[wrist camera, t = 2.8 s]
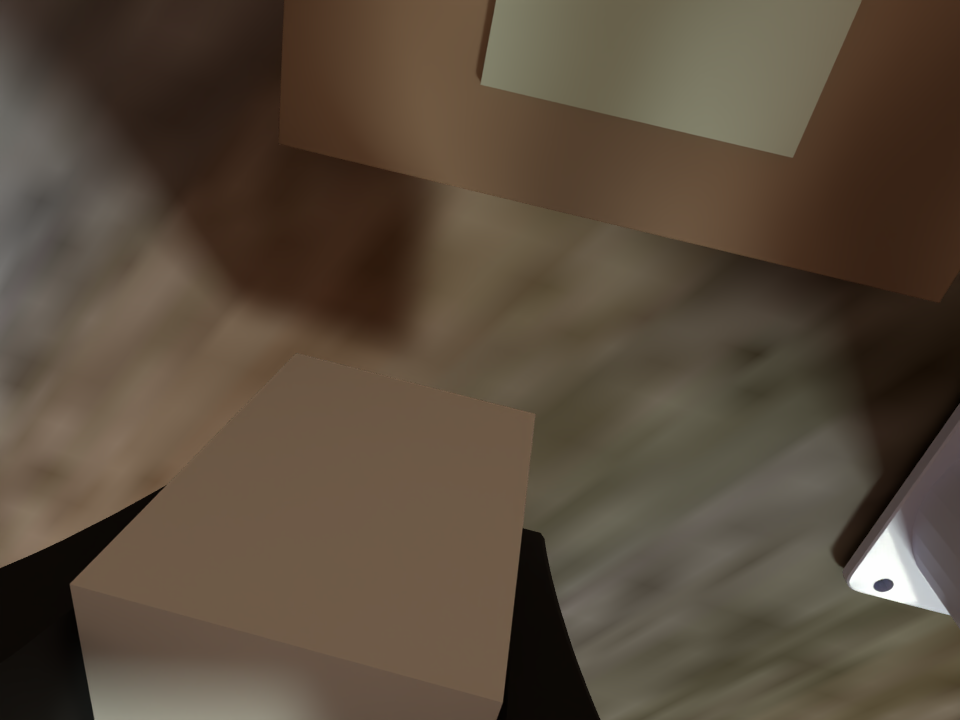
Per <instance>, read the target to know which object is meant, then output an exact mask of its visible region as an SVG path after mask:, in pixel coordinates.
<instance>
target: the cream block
mask: <svg viewBox="0 0 960 720" xmlns="http://www.w3.org/2000/svg"><path fill="white" fill-rule="evenodd" d="M534 422H535V414H533V413H530V412H526V411H522V410H518V409H514V408H510V407H506V406H502V405H498V404H494V403H490V402H486V401H483V400H479V399H475V398H471V397H467V396H463V395H459V394H455V393H451V392H447V391H443V390H439V389H436V388H432V387H428V386H424V385H420V384H416V383H412V382H408V381H404V380H400V379H396V378H392V377H388V376H385V375H381V374H377V373H373V372H369V371H365V370H361V369H357V368H353V367H349V366H345V365H341V364H338V363H334V362H330V361H326V360H322V359H318V358H314V357H310V356H306V355H302V354H298V353H296V354H295V355H294V356H293V357H292V358H291V359H290V360H289V361H288V362H287V363H286V364H285V365H284V366H283V367H282V368H281V369H280V370H279V371H278V372H277V373H276V374H275V375H274V376H273V377H272V378H271V379H270V380H269V381H268V382H267V383H266V384H265V385H264V386H263V387H262V388H261V389H260V391H259V392H258V393H257V394H256V395H255V396H254V397H253V398H252V399H251V400H250V401H249V402H248V403H247V404H246V405H245V406H244V407H243V408H242V409H241V410H240V411H239V412H238V413H237V414H236V415H235V416H234V417H233V418H232V419H231V420H230V421H229V422H228V423H227V424H226V425H225V426H224V427H223V428H222V429H221V430H220V431H219V432H218V433H217V434H216V435H215V436H214V437H213V438H212V439H211V440H210V441H209V443H208V444H207V445H206V446H205V447H204V448H203V449H202V450H201V451H200V452H199V453H198V454H197V455H196V456H195V457H194V458H193V459H192V460H191V461H190V462H189V463H188V464H187V465H186V466H185V467H184V468H183V469H182V470H181V471H180V472H179V473H178V474H177V475H176V476H175V477H174V478H173V479H172V480H171V481H170V482H169V483H168V484H167V485H166V486H165V487H164V488H163V489H162V490H161V491H160V492H159V494H158V495H157V496H156V497H155V498H154V499H153V500H152V501H151V502H150V503H149V504H148V505H147V506H146V507H145V508H144V509H143V510H142V511H141V512H140V513H139V514H138V515H137V516H136V517H135V518H134V519H133V520H132V521H131V522H130V523H129V524H128V525H127V526H126V527H125V528H124V529H123V530H122V531H121V532H120V533H119V534H118V535H117V536H116V537H115V538H114V539H113V540H112V541H111V542H110V543H109V545H108V546H107V547H106V548H105V549H104V550H103V551H102V552H101V553H100V554H99V555H98V556H97V557H96V558H95V559H94V560H93V561H92V562H91V563H90V564H89V565H88V566H87V567H86V568H85V569H84V570H83V571H82V572H81V573H80V574H79V575H78V576H77V577H76V578H75V579H74V580H73V581H72V582H71V583H70V589H71V594H72V600H73V605H74V611H75V616H76V622H77V627H78V633H79V638H80V643H81V649H82V654H83V660H84V665H85V671H86V676H87V682H88V687H89V692H90V698H91V703H92V709H93V714H94V720H497V717H498V714H499V712H500V709H501V706H502V703H503V696H504V688H505V679H506V670H507V661H508V652H509V643H510V635H511V626H512V617H513V608H514V599H515V590H516V581H517V573H518V564H519V555H520V546H521V537H522V528H523V520H524V511H525V502H526V493H527V484H528V475H529V466H530V458H531V449H532V440H533V431H534Z"/></svg>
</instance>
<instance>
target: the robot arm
mask: <svg viewBox="0 0 960 720" xmlns="http://www.w3.org/2000/svg"><path fill="white" fill-rule="evenodd" d="M164 487H165V486H164ZM164 487H162V488H161V489H159V490H157V491H155V492H153V493H152V494H150V495H148V496H146V497H144V498H143V499H141V500H139V501H137V502H135V503H134V504H132V505H130V506H128V507H126V508H125V509H123V510H121V511H119V512H117V513H115V514H114V515H112V516H110V517H108V518H106V519H104V520H102V521H100V522H98V523H96V524H94V525H92V526H90V527H88V528H86V529H84V530H82V531H80V532H78V533H76V534H74V535H72V536H70V537H68V538H66V539H65V540H63V541H60V542H58V543H56V544H54V545H52V546H50V547H48V548H45V549H43V550H41V551H39V552H37V553H34V554H32V555H30V556H28V557H25V558H23V559H21V560H18V561H16V562H14V563H11V564H9V565H7V566H4V567H2V568H0V720H94V714H93V709H92V703H91V698H90V692H89V687H88V682H87V676H86V671H85V665H84V660H83V654H82V649H81V643H80V638H79V633H78V627H77V622H76V616H75V611H74V605H73V600H72V594H71V589H70V583H71V582H72V581H73V580H74V579H75V578H76V577H77V576H78V575H79V574H80V573H81V572H82V571H83V570H84V569H85V568H86V567H87V566H88V565H89V564H90V563H91V562H92V561H93V560H94V559H95V558H96V557H97V556H98V555H99V554H100V553H101V552H102V551H103V550H104V549H105V548H106V547H107V546H108V545H109V543H110V542H111V541H112V540H113V539H114V538H115V537H116V536H117V535H118V534H119V533H120V532H121V531H122V530H123V529H124V528H125V527H126V526H127V525H128V524H129V523H130V522H131V521H132V520H133V519H134V518H135V517H136V516H137V515H138V514H139V513H140V512H141V511H142V510H143V509H144V508H145V507H146V506H147V505H148V504H149V503H150V502H151V501H152V500H153V499H154V498H155V497H156V496H157V495H158V494H159V492H160V491H161V490H162V489H163V488H164ZM843 577H844V579H845V581H846V583H847V585H848V586H849V587H850V588H851V589H853V590H855V591H858V592H862V593H865V594H869V595H873V596H877V597H881V598H885V599H889V600H893V601H896V602H900V603H904V604H908V605H912V606H916V607H920V608H924V609H928V610H931V611H935V612H939V613H943V614H947V615H951V617H952V618H953V620H954V621H955V623H956V624H957V626H958V627H959V628H960V404H959V405H958V406H957V408H956V409H955V411H954V412H953V414H952V415H951V416H950V418H949V419H948V421H947V422H946V424H945V425H944V426H943V428H942V429H941V431H940V432H939V433H938V435H937V436H936V438H935V439H934V441H933V442H932V443H931V445H930V446H929V448H928V449H927V451H926V452H925V453H924V455H923V456H922V458H921V459H920V461H919V462H918V463H917V465H916V466H915V468H914V469H913V471H912V472H911V473H910V475H909V476H908V478H907V479H906V480H905V482H904V483H903V485H902V486H901V488H900V489H899V490H898V492H897V493H896V495H895V496H894V498H893V499H892V500H891V502H890V503H889V505H888V506H887V508H886V509H885V510H884V512H883V513H882V515H881V516H880V517H879V519H878V520H877V522H876V523H875V525H874V526H873V527H872V529H871V530H870V532H869V533H868V535H867V536H866V537H865V539H864V540H863V542H862V543H861V545H860V546H859V547H858V549H857V550H856V552H855V553H854V555H853V556H852V557H851V559H850V560H849V562H848V563H847V564H846V566H845V567H844V570H843ZM880 579H883V580H881V581H877V580H880ZM497 720H600V718H599V715H598V713H597V711H596V708H595V706H594V703H593V701H592V699H591V696H590V694H589V691H588V689H587V686H586V683H585V681H584V678H583V675H582V673H581V670H580V667H579V665H578V662H577V659H576V656H575V653H574V651H573V648H572V645H571V642H570V639H569V636H568V632H567V629H566V626H565V623H564V620H563V616H562V613H561V610H560V607H559V603H558V599H557V596H556V592H555V588H554V584H553V580H552V576H551V572H550V567H549V563H548V558H547V552H546V547H545V539H544V538H543V536H542V534H541V533H539V532H535V531H531V530H527V529H523V528H522V537H521V546H520V555H519V564H518V573H517V581H516V590H515V599H514V608H513V617H512V626H511V635H510V643H509V652H508V661H507V670H506V679H505V688H504V696H503V703H502V706H501V709H500V712H499V714H498V717H497Z"/></svg>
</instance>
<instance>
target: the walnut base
mask: <svg viewBox="0 0 960 720" xmlns="http://www.w3.org/2000/svg"><path fill="white" fill-rule="evenodd" d="M278 144H281V145H285V146H289V147H293V148H297V149H302V150H306V151H310V152H314V153H318V154H322V155H326V156H331V157H335V158H339V159H343V160H347V161H351V162H356V163H360V164H364V165H368V166H372V167H376V168H380V169H385V170H389V171H393V172H397V173H401V174H405V175H410V176H414V177H418V178H422V179H426V180H430V181H434V182H439V183H443V184H447V185H451V186H455V187H459V188H464V189H468V190H472V191H476V192H480V193H484V194H489V195H493V196H497V197H501V198H505V199H509V200H513V201H518V202H522V203H526V204H530V205H534V206H538V207H543V208H547V209H551V210H555V211H559V212H563V213H567V214H572V215H576V216H580V217H584V218H588V219H592V220H597V221H601V222H605V223H609V224H613V225H617V226H621V227H626V228H630V229H634V230H638V231H642V232H646V233H651V234H655V235H659V236H663V237H667V238H671V239H675V240H680V241H684V242H688V243H692V244H696V245H700V246H705V247H709V248H713V249H717V250H721V251H725V252H730V253H734V254H738V255H742V256H746V257H750V258H754V259H759V260H763V261H767V262H771V263H775V264H779V265H784V266H788V267H792V268H796V269H800V270H804V271H808V272H813V273H817V274H821V275H825V276H829V277H833V278H838V279H842V280H846V281H850V282H854V283H858V284H862V285H867V286H871V287H875V288H879V289H883V290H887V291H892V292H896V293H900V294H904V295H908V296H912V297H916V298H921V299H925V300H929V301H933V302H937V303H940V301H941V300H942V298H943V297H944V295H945V293H946V292H947V290H948V288H949V287H950V285H951V284H952V282H953V280H954V279H955V277H956V276H957V274H958V272H959V271H960V0H284V15H283V40H282V66H281V91H280V117H279V142H278Z"/></svg>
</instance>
